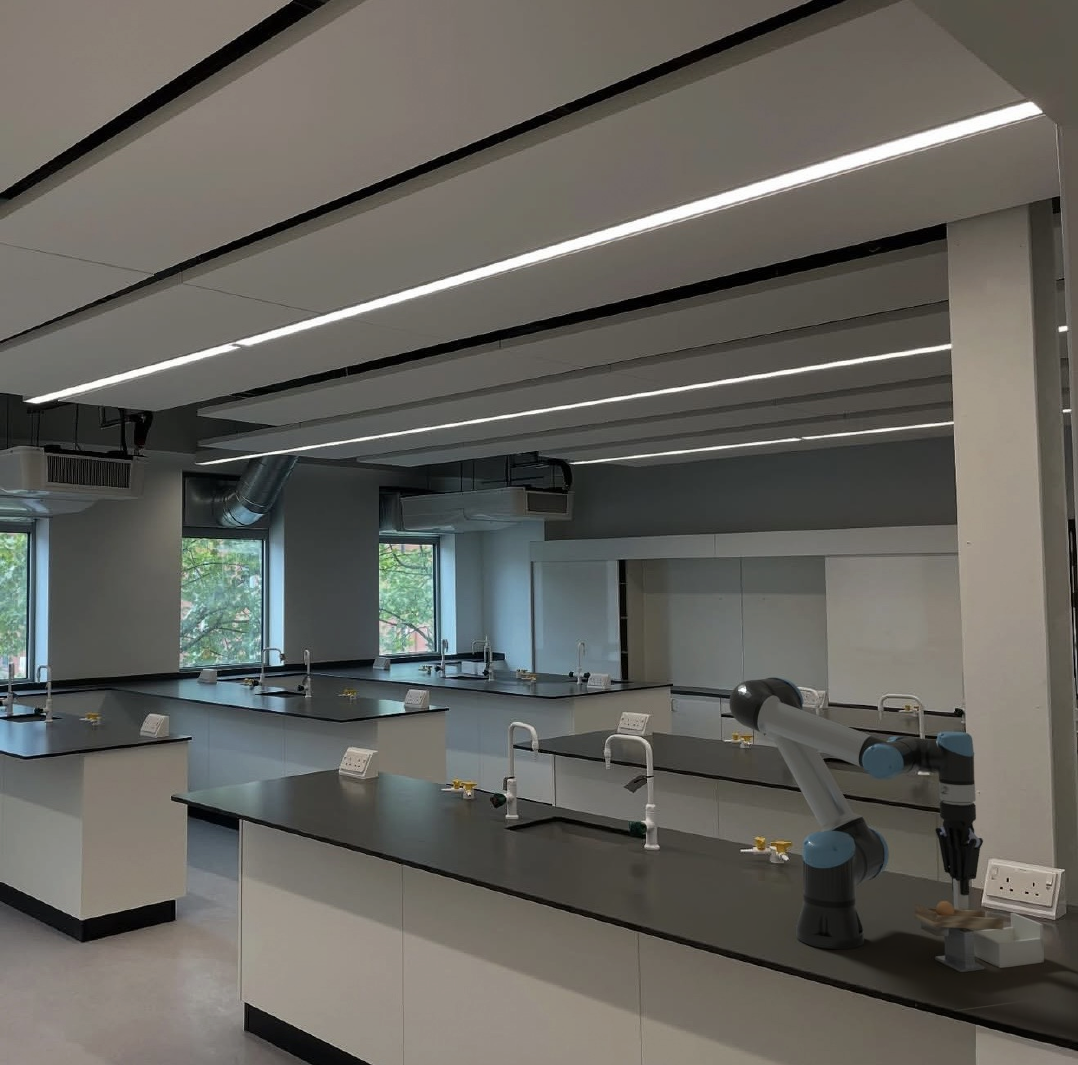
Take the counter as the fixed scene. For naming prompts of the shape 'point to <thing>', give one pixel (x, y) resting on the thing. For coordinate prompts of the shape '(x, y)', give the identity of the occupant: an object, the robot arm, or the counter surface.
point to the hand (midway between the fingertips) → (961, 908)
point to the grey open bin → (1011, 943)
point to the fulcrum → (960, 950)
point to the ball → (945, 908)
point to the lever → (954, 920)
